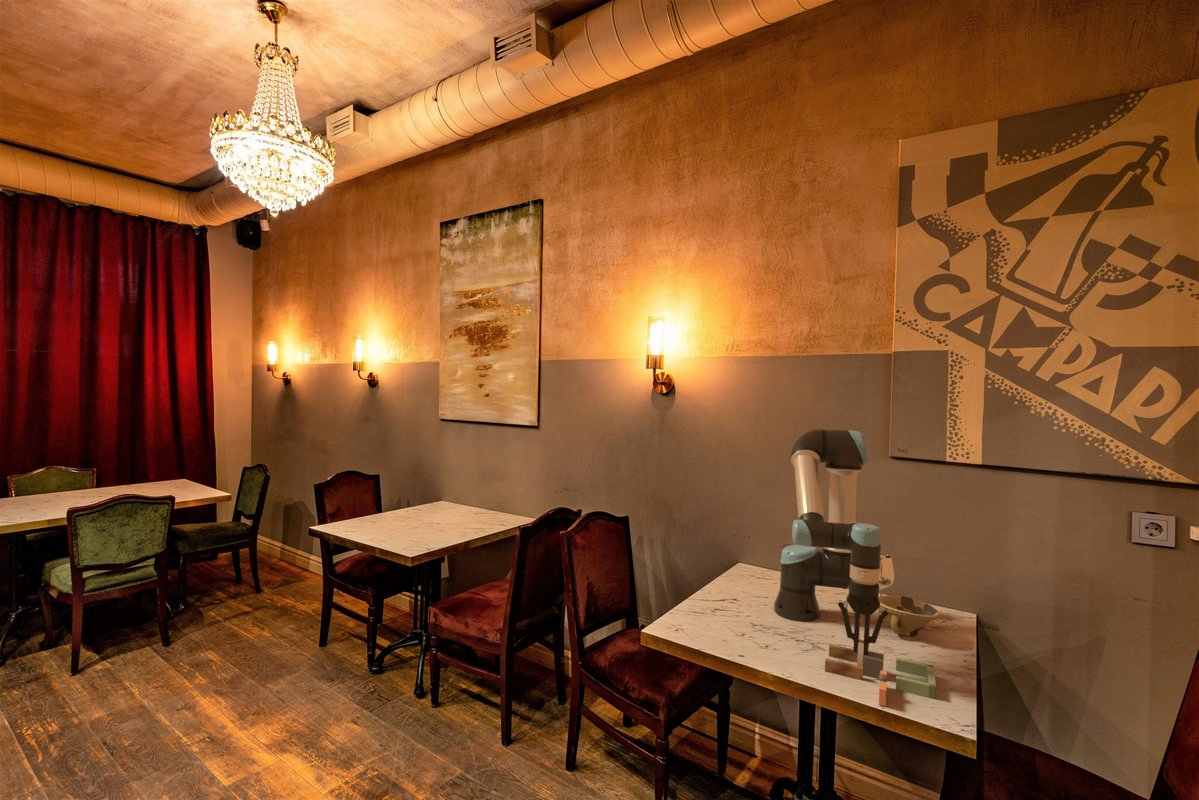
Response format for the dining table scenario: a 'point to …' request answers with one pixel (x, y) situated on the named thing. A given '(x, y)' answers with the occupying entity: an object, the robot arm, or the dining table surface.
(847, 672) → the clip rails
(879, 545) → the robot arm
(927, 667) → the bracket
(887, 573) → the wineglass
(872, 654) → the block
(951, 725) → the dining table surface
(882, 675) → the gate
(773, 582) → the dining table surface
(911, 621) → the bowl
